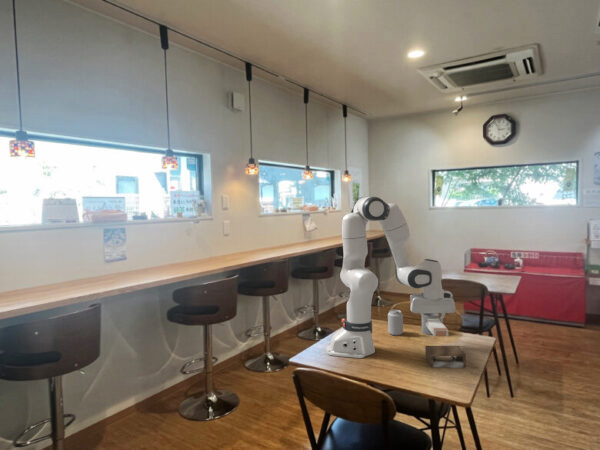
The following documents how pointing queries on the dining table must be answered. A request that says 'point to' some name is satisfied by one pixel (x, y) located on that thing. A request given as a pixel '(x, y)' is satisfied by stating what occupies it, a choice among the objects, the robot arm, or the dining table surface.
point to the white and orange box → (436, 327)
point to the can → (395, 322)
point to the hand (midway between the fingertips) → (432, 321)
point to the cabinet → (445, 351)
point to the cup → (424, 327)
